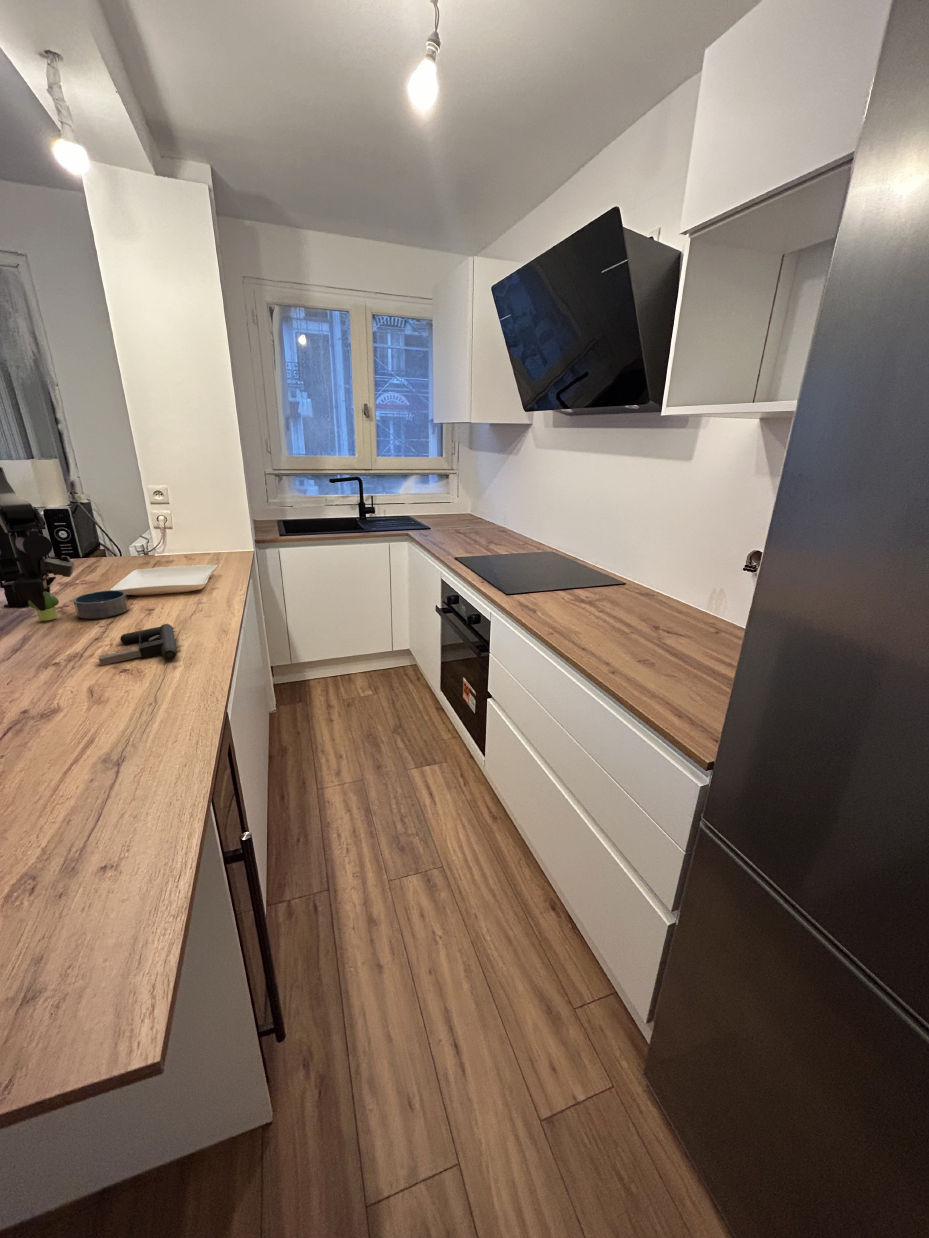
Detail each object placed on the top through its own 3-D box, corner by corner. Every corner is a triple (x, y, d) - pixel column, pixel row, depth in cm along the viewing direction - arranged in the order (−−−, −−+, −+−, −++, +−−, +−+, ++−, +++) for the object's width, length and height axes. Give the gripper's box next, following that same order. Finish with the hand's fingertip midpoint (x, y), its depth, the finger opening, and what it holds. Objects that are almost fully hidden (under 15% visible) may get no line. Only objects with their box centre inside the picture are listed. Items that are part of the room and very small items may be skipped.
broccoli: (31, 622, 130) (22, 595, 128) (36, 616, 134) (27, 590, 132) (61, 619, 133) (53, 592, 130) (64, 613, 137) (57, 587, 135)
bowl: (96, 606, 146) (92, 590, 144) (138, 606, 146) (134, 590, 144) (67, 620, 134) (62, 603, 132) (112, 620, 135) (107, 603, 133)
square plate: (219, 573, 183) (217, 563, 181) (207, 594, 158) (205, 582, 157) (137, 578, 175) (134, 567, 173) (110, 600, 150) (107, 588, 149)
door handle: (95, 665, 103) (180, 646, 111) (101, 635, 119) (175, 620, 126) (100, 679, 104) (184, 659, 112) (105, 647, 120) (179, 631, 128)
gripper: (59, 556, 123) (75, 613, 129) (73, 542, 139) (86, 594, 144) (2, 560, 118) (21, 620, 124) (22, 545, 134) (39, 599, 139)
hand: (45, 607), depth 133 cm, fingers closed on broccoli, 5 cm apart
